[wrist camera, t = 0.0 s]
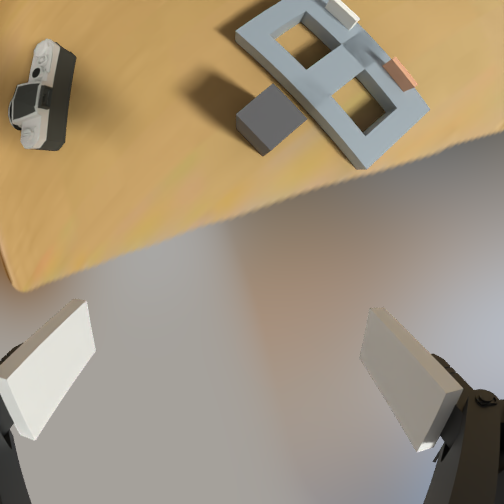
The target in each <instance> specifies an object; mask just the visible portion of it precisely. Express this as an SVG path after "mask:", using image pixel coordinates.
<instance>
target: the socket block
mask: <svg viewBox="0 0 504 504" xmlns="http://www.w3.org/2000/svg"><path fill="white" fill-rule="evenodd" d="M359 20H360V18H359V17H358V16H357V15H356V14H355V13H354V12H353V11H352V10H351V9H350V8H348V7H347V6H346V5H345V4H344V3H343V2H342V1H341V0H281V1H280V2H278V3H277V4H275V5H273V6H272V7H270V8H268V9H267V10H265V11H264V12H262V13H261V14H259V15H258V16H256V17H255V18H253V19H252V20H250V21H249V22H247V23H246V24H244V25H243V26H242V27H240V28H239V29H237V30H236V31H235V42H236V43H238V44H239V45H240V46H241V47H242V48H243V49H244V50H245V51H247V52H248V53H249V54H250V55H251V56H252V57H253V58H254V59H255V60H256V61H257V62H259V63H260V64H261V65H262V66H263V67H264V68H265V69H266V70H267V71H268V72H269V73H270V74H271V75H272V76H273V77H274V78H275V79H276V80H277V81H278V82H279V83H280V84H281V85H282V86H283V87H284V88H285V89H286V90H287V91H288V92H289V93H290V94H291V95H292V96H293V97H294V98H295V99H296V100H297V101H298V102H299V103H300V104H301V105H302V107H303V108H304V109H305V110H306V111H307V112H308V113H309V114H310V115H311V116H312V117H313V118H314V120H315V121H316V122H317V123H318V124H319V125H320V126H321V127H322V129H323V130H324V131H325V132H326V133H327V134H328V135H329V137H330V138H331V139H332V140H333V141H334V142H335V144H336V145H337V146H338V147H339V148H340V150H341V151H342V152H343V153H344V154H345V156H346V157H347V158H348V159H349V161H350V162H351V163H352V164H353V166H354V167H355V168H356V169H357V170H358V169H368V168H369V167H370V166H371V165H372V164H373V163H374V162H375V161H376V160H377V159H378V158H380V157H381V156H382V155H383V154H384V153H385V152H386V151H387V150H388V149H389V148H390V147H391V146H392V145H393V144H394V143H395V142H397V141H398V140H399V139H400V138H401V137H402V136H403V135H404V134H405V133H406V132H407V131H408V130H409V129H410V128H411V127H412V126H413V125H414V124H416V123H417V122H418V121H419V120H420V119H421V118H422V117H423V116H424V115H425V114H426V113H427V112H428V111H429V110H430V108H429V107H428V106H427V104H426V103H425V101H424V100H423V99H422V97H421V96H420V95H419V93H418V92H417V91H416V89H415V88H414V87H416V86H417V85H418V84H417V82H416V81H415V80H414V78H413V77H412V76H411V75H410V73H409V72H408V71H407V70H406V68H405V67H404V66H403V65H402V64H401V62H400V61H399V60H398V59H397V58H396V57H394V58H393V59H391V58H390V57H389V56H388V55H387V54H386V53H385V51H384V50H383V49H382V48H381V47H380V46H379V45H378V44H377V43H376V42H375V40H374V39H373V38H372V37H371V36H370V35H369V34H368V33H367V32H366V31H365V30H364V29H363V28H362V27H361V26H360V25H359V24H358V23H357V22H358V21H359ZM300 22H302V23H303V24H304V25H305V26H306V27H307V28H308V29H309V30H310V31H312V32H313V33H314V34H315V35H316V36H317V37H318V38H319V39H320V40H321V41H322V42H323V43H324V44H325V45H326V46H327V47H328V48H329V49H330V50H331V52H330V53H329V54H327V55H326V56H324V57H323V58H322V59H320V60H319V61H318V62H316V63H315V64H314V65H312V66H311V67H310V68H308V69H307V70H306V69H305V68H304V67H303V66H302V65H301V64H300V63H299V62H298V61H297V60H296V59H295V58H294V57H293V56H292V55H291V54H290V53H288V52H287V51H286V50H285V49H284V48H283V47H282V46H281V45H280V44H279V43H278V42H277V41H276V40H275V39H276V38H277V37H279V36H280V35H282V34H283V33H285V32H286V31H288V30H289V29H291V28H292V27H294V26H295V25H297V24H298V23H300ZM355 76H356V77H357V79H358V80H359V81H360V82H361V83H362V84H363V85H364V87H365V88H366V89H367V90H368V91H369V92H370V94H371V95H372V96H373V97H374V98H375V100H376V101H377V102H378V103H379V105H380V106H381V107H382V108H383V110H384V111H385V112H386V113H384V114H383V115H382V116H381V117H380V118H379V119H378V120H376V121H375V122H374V123H373V124H372V125H371V126H370V127H369V128H367V129H366V130H365V131H364V132H363V133H362V132H361V130H360V129H359V128H358V127H357V125H356V124H355V123H354V122H353V121H352V119H351V118H350V117H349V116H348V115H347V114H346V112H345V111H344V110H343V109H342V108H341V107H340V106H339V104H338V103H337V102H336V101H335V100H334V99H333V98H332V97H331V95H332V94H334V93H335V92H336V91H337V90H339V89H340V88H341V87H342V86H344V85H345V84H346V83H347V82H349V81H350V80H351V79H353V78H354V77H355Z"/></svg>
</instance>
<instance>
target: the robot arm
mask: <svg viewBox="0 0 504 504" xmlns="http://www.w3.org/2000/svg"><path fill="white" fill-rule="evenodd" d="M95 351H96V349H95V345H94V339H93V334H92V329H91V324H90V318H89V312H88V305H87V301H86V300H79V299H73V300H72V301H70V302H69V303H68V304H67V305H66V306H65V307H63V308H62V309H61V310H60V311H59V312H58V313H56V314H55V315H54V316H53V317H52V318H51V319H50V320H49V321H47V322H46V323H45V324H44V325H43V326H42V327H41V328H39V329H38V330H37V331H36V332H35V333H34V334H33V335H32V336H31V337H30V338H28V339H27V340H26V341H25V342H24V343H22V344H20V345H18V346H16V347H14V348H13V349H12V350H11V351H10V352H8V353H7V356H6V355H5V356H4V357H3V358H2V359H1V361H0V504H31V501H30V498H29V495H28V492H27V489H26V485H25V482H24V479H23V475H22V472H21V468H20V464H19V460H18V456H17V452H16V448H15V443H14V438H13V435H12V433H11V431H10V428H11V426H12V425H13V424H14V425H15V427H16V429H17V430H18V432H19V434H20V435H22V436H24V437H27V438H29V439H32V440H36V439H37V437H38V436H39V434H40V433H41V431H42V429H43V428H44V426H45V425H46V423H47V421H48V420H49V418H50V417H51V415H52V414H53V412H54V411H55V409H56V407H57V406H58V405H59V403H60V402H61V400H62V399H63V397H64V396H65V394H66V393H67V391H68V390H69V388H70V387H71V385H72V384H73V382H74V381H75V379H76V378H77V377H78V375H79V374H80V372H81V371H82V369H83V368H84V367H85V365H86V364H87V362H88V361H89V359H90V358H91V357H92V355H93V354H94V352H95ZM360 360H361V361H362V363H363V365H364V366H365V368H366V369H367V371H368V372H369V374H370V375H371V377H372V379H373V381H374V382H375V384H376V385H377V387H378V389H379V390H380V392H381V394H382V395H383V397H384V399H385V400H386V402H387V403H388V405H389V407H390V408H391V410H392V412H393V413H394V415H395V416H396V418H397V420H398V421H399V423H400V425H401V426H402V428H403V430H404V431H405V433H406V435H407V437H408V438H409V440H410V442H411V443H412V445H413V447H414V449H415V450H416V452H419V451H423V450H426V449H429V448H433V447H434V446H435V444H436V442H437V440H438V439H439V437H440V436H441V437H442V439H443V440H444V444H443V446H442V447H441V449H440V451H439V452H438V454H437V456H436V457H435V459H434V460H433V462H436V460H437V459H438V461H437V464H436V468H435V471H434V474H433V478H432V480H431V484H430V486H429V490H428V492H427V495H426V498H425V500H424V503H423V504H504V400H499V399H498V398H497V397H496V396H495V395H494V394H493V393H491V392H490V391H487V390H482V389H478V390H473V389H472V388H471V387H470V386H469V385H468V384H467V383H466V382H465V381H464V380H463V378H462V377H461V376H460V375H459V374H458V373H456V372H455V370H454V369H453V368H450V365H449V364H448V363H447V362H446V361H445V360H444V359H442V358H441V357H439V356H437V355H435V354H430V353H429V352H428V351H427V350H426V349H425V348H424V347H423V346H422V345H421V344H420V343H419V342H418V341H417V340H416V339H415V338H414V337H413V336H412V335H411V334H410V333H409V332H408V331H407V330H406V329H405V328H404V327H403V326H402V325H401V324H400V323H399V322H398V321H397V320H396V319H395V318H394V317H393V316H392V315H391V314H390V313H389V312H388V311H387V310H386V309H385V308H370V309H369V315H368V320H367V325H366V330H365V335H364V340H363V344H362V349H361V353H360Z"/></svg>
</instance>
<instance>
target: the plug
mask: <svg viewBox="0 0 504 504" xmlns="http://www.w3.org/2000/svg"><path fill="white" fill-rule="evenodd" d="M306 120H307V118H306V117H305V116H304V115H303V114H302V113H301V112H300V110H299V109H298V108H297V107H296V106H295V105H294V104H293V103H292V102H291V101H290V100H289V99H288V98H287V97H286V96H285V95H284V94H283V93H282V92H281V91H280V90H279V89H278V88H277V87H276V86H275V85H274V84H272V85H271V86H269V87H268V88H267V89H266V90H264V91H263V92H262V93H261V94H259V95H258V96H257V97H256V98H255V99H253V100H252V101H251V102H250V103H249V104H247V105H246V106H245V107H244V108H243V109H242V110H240V111H239V112H238V113H237V114H236V129H237V130H238V131H239V132H240V133H241V134H242V135H243V136H244V137H245V138H246V139H247V140H248V141H249V142H250V143H251V145H252V146H253V147H254V148H255V149H256V150H257V151H258V152H259V153H260V154H261V155H262V156H264V155H266V154H267V153H268V152H270V151H271V150H272V149H273V148H274V147H276V146H277V145H278V144H279V143H280V142H281V141H282V140H284V139H285V138H286V137H287V136H288V135H289V134H290V133H292V132H293V131H294V130H295V129H296V128H297V127H299V126H300V125H301V124H302V123H303V122H305V121H306Z"/></svg>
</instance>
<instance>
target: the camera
mask: <svg viewBox="0 0 504 504" xmlns="http://www.w3.org/2000/svg"><path fill="white" fill-rule="evenodd" d="M75 62H76V56H75V55H74V54H73V53H71V52H69V51H67V50H66V49H64V48H63V47H61V46H60V45H59V44H58V43H57V42H54V41H52V40H50V39H45V41H42V42H40V43H39V44H37V46H36V48H35V50H34V57H33V61H32V66H31V70H30V75H29V81H28V83H24V84H20V85H17V87H16V90H15V93H14V96H13V99H12V100H11V102H10V105H9V109H8V117H9V120H10V123H11V125H12V126H13V127H14V128H16V129H17V130H20V131H21V130H22V131H21V143H22V145H23V146H24V148H25V149H37V150H49V151H57V150H59V149H60V148H61V147H62V145H63V144H64V143H65V136H66V125H67V115H68V106H69V99H70V91H71V85H72V79H73V73H74V67H75Z"/></svg>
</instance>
